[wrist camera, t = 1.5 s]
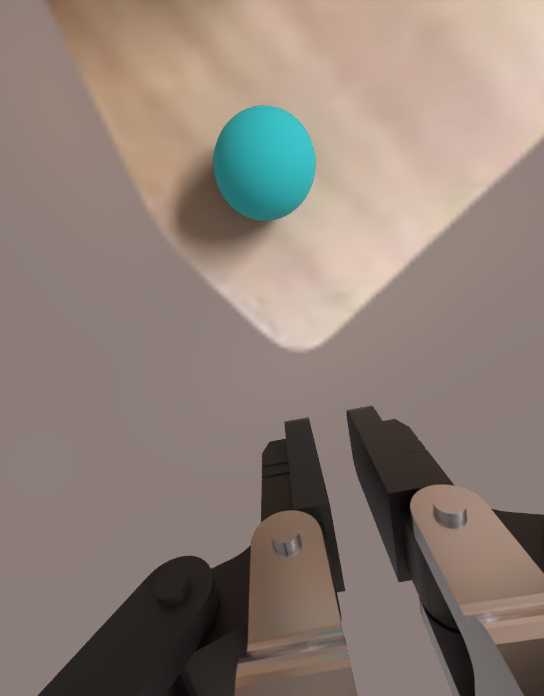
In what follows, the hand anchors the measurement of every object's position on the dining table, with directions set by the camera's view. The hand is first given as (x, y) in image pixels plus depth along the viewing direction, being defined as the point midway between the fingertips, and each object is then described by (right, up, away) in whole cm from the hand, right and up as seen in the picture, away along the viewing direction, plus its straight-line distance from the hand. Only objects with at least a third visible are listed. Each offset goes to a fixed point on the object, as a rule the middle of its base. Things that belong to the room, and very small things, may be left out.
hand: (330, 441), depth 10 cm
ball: (-2, +14, +11) cm, 17 cm away
